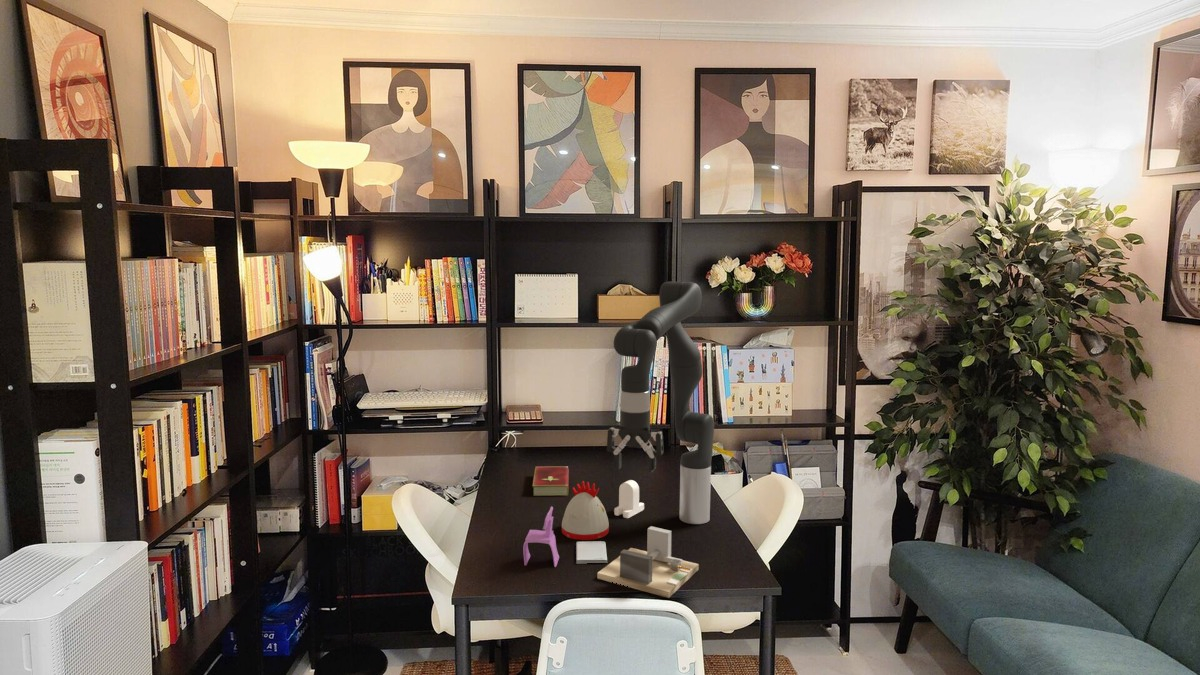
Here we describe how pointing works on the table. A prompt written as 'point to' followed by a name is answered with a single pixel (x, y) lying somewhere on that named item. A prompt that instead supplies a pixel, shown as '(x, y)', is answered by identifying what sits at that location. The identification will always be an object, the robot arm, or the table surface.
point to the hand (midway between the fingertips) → (634, 469)
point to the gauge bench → (656, 576)
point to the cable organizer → (628, 500)
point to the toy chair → (542, 538)
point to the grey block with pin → (677, 565)
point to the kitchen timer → (585, 515)
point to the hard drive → (591, 552)
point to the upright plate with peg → (659, 544)
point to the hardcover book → (551, 480)
